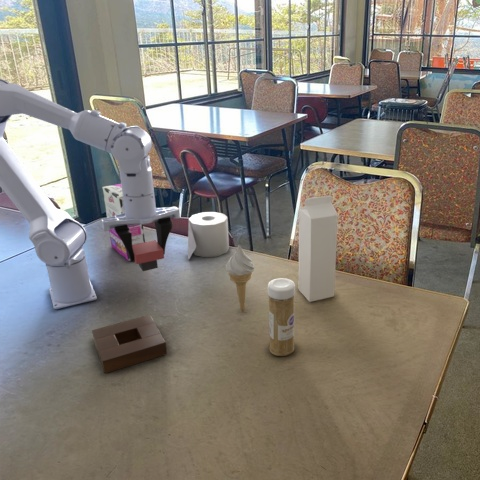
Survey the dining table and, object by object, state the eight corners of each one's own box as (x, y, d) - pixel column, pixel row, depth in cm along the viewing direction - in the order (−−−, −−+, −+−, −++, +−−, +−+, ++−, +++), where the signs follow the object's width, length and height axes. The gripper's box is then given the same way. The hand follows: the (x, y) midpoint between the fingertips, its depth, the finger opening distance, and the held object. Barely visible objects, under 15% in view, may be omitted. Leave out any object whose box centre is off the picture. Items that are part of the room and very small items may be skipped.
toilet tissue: (182, 262, 116) (178, 230, 113) (198, 241, 128) (196, 210, 125) (218, 265, 116) (216, 232, 112) (232, 242, 128) (230, 212, 124)
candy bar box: (148, 256, 119) (140, 193, 112) (128, 262, 116) (119, 197, 109) (129, 242, 126) (121, 182, 120) (110, 247, 123) (100, 186, 117)
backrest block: (93, 341, 86) (91, 330, 85) (151, 325, 92) (150, 314, 91) (104, 373, 79) (102, 361, 78) (167, 354, 84) (165, 342, 83)
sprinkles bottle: (290, 359, 83) (290, 291, 78) (265, 354, 84) (264, 287, 79) (297, 343, 87) (298, 278, 82) (273, 340, 88) (272, 275, 83)
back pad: (131, 264, 99) (128, 245, 98) (157, 258, 102) (155, 240, 100) (138, 275, 95) (135, 255, 94) (165, 268, 98) (163, 249, 96)
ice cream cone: (250, 321, 94) (248, 251, 88) (223, 317, 95) (219, 248, 89) (259, 306, 99) (257, 239, 93) (234, 303, 100) (230, 237, 94)
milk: (298, 289, 106) (298, 194, 97) (322, 284, 108) (324, 190, 100) (309, 302, 101) (310, 203, 92) (335, 296, 103) (338, 199, 95)
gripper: (102, 204, 86) (113, 272, 91) (182, 192, 93) (188, 255, 98) (94, 193, 91) (105, 258, 96) (171, 183, 98) (177, 243, 104)
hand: (146, 256), depth 98 cm, fingers closed on back pad, 5 cm apart
